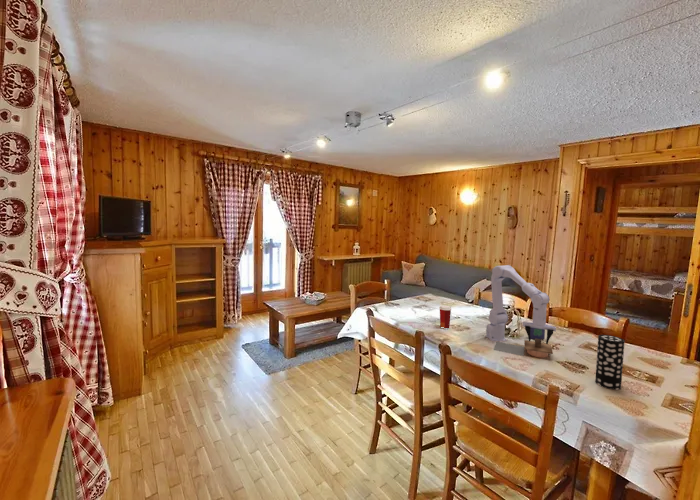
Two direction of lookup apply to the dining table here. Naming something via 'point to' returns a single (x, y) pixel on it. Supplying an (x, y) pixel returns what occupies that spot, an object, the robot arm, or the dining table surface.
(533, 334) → the flask
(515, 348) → the mat
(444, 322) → the pint of red drink
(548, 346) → the lid
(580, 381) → the dining table surface
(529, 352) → the bowl
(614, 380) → the white-spotted black cylinder
